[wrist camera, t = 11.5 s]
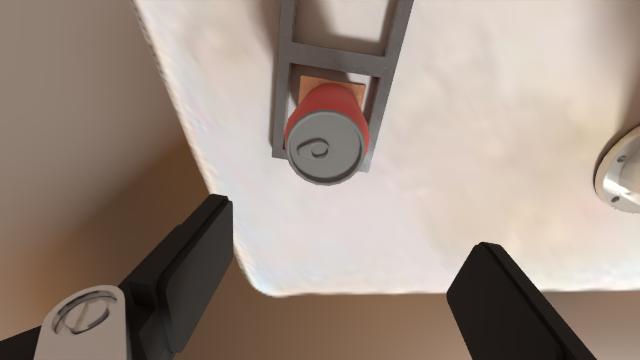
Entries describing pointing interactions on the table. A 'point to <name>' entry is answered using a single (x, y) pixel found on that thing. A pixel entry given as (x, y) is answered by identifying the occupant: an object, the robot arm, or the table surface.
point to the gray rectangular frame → (335, 61)
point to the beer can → (327, 136)
